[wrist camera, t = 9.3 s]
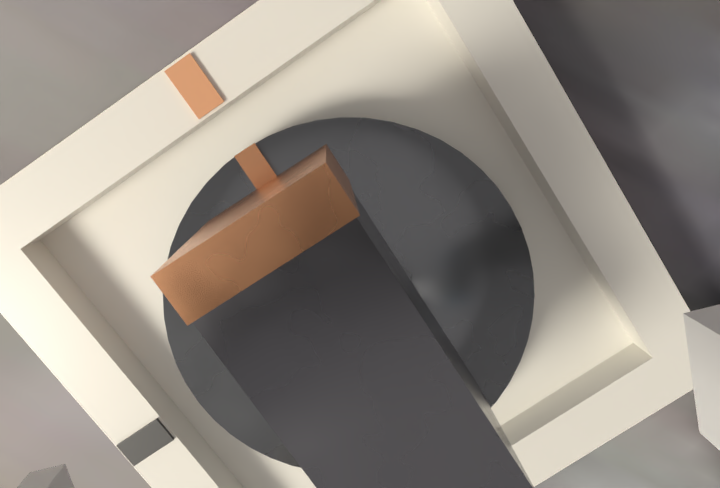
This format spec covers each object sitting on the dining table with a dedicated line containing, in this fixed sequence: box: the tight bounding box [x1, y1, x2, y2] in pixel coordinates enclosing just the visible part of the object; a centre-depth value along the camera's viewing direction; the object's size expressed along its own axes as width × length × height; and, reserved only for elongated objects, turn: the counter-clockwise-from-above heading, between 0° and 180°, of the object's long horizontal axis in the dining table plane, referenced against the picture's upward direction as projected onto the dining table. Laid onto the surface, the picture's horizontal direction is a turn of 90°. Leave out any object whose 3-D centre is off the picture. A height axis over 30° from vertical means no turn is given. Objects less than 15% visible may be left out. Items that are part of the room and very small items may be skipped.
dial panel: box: [0, 0, 693, 488], centre depth 23 cm, size 20×20×3 cm
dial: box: [150, 117, 535, 488], centre depth 19 cm, size 13×13×9 cm
